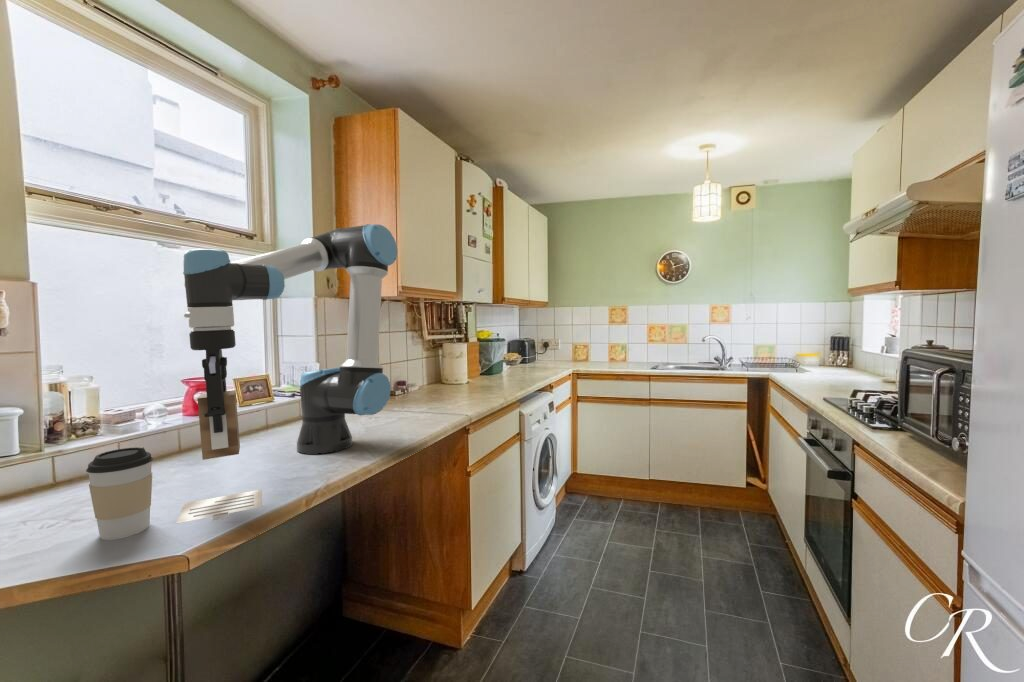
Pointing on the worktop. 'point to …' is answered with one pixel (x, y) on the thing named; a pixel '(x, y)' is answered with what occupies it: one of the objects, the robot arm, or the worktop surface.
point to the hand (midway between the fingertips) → (221, 443)
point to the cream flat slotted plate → (220, 506)
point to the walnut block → (232, 427)
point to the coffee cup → (121, 491)
